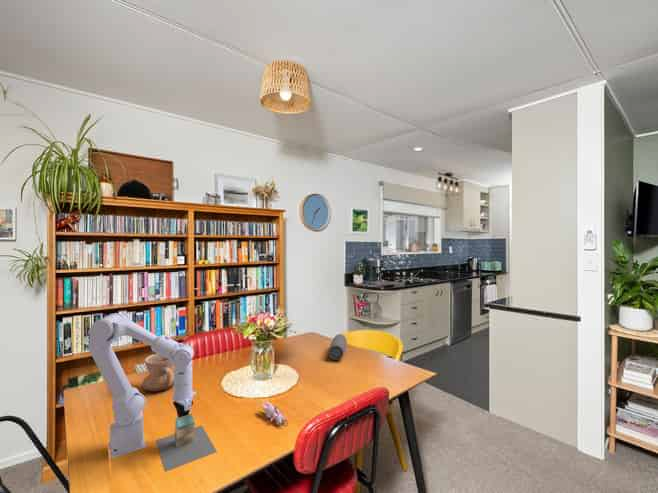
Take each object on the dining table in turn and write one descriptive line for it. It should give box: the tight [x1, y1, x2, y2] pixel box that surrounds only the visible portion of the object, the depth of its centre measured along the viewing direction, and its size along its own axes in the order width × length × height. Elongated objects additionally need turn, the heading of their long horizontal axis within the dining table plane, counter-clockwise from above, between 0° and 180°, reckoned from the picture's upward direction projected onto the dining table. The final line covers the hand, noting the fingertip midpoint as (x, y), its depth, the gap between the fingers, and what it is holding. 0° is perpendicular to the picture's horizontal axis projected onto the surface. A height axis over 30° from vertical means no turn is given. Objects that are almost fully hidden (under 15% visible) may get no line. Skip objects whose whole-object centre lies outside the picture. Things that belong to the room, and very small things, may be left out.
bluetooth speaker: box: [328, 333, 348, 361], centre depth 190 cm, size 23×9×10 cm, turn 172°
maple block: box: [174, 413, 196, 447], centre depth 104 cm, size 5×4×8 cm
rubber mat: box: [155, 425, 218, 473], centre depth 103 cm, size 15×18×1 cm
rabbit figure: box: [260, 402, 289, 429], centre depth 121 cm, size 6×6×15 cm
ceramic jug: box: [141, 353, 174, 392], centre depth 145 cm, size 18×14×14 cm
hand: (182, 422), depth 106 cm, fingers closed
